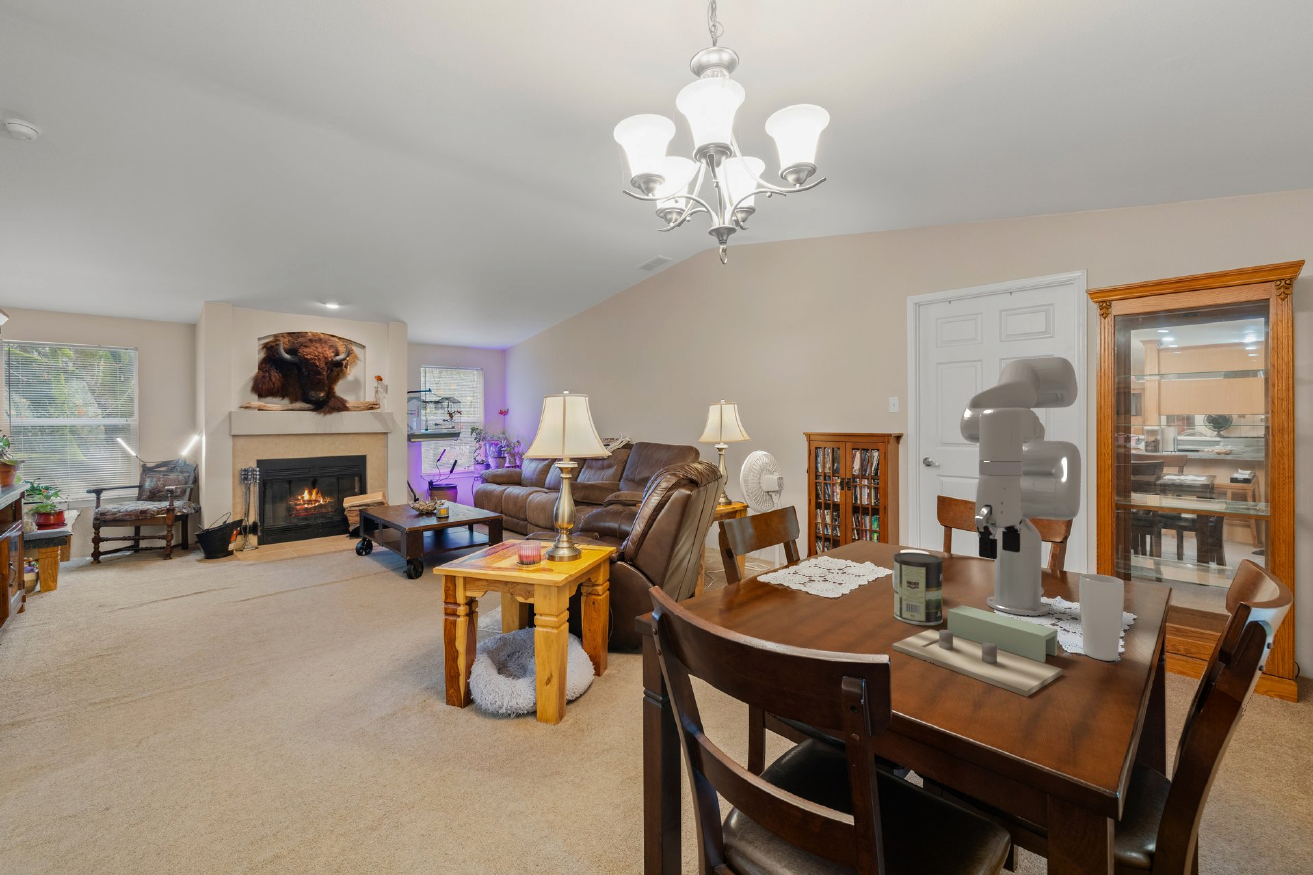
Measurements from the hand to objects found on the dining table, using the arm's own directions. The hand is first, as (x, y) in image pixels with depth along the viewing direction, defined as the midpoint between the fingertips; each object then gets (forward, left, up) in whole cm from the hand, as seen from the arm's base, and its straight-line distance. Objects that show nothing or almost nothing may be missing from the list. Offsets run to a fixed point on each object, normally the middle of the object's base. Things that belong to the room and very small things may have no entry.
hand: (999, 554), depth 114 cm
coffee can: (-1, -18, -18) cm, 26 cm away
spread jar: (-13, -26, -18) cm, 34 cm away
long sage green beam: (0, 0, -18) cm, 18 cm away
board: (+13, +1, -18) cm, 22 cm away
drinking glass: (-9, +14, -18) cm, 25 cm away
